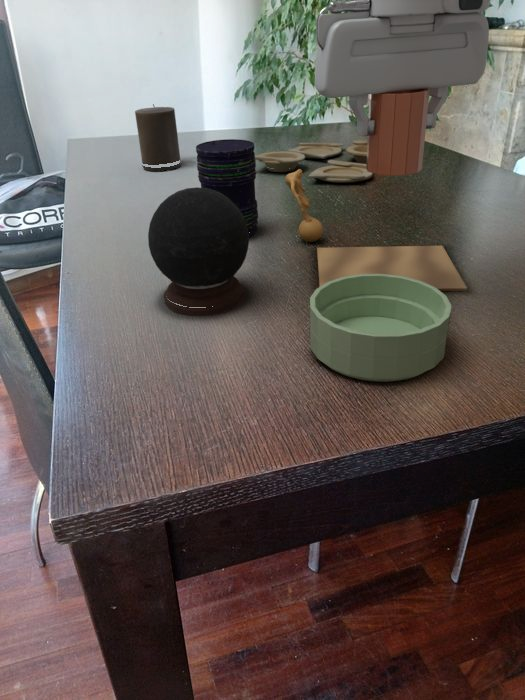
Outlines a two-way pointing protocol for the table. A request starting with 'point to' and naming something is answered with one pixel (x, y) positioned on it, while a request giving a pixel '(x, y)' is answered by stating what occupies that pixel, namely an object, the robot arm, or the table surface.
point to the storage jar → (231, 174)
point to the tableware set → (334, 173)
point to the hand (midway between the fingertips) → (396, 131)
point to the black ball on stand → (199, 250)
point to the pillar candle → (158, 137)
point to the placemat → (391, 264)
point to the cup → (397, 132)
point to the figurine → (304, 209)
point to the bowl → (379, 326)
